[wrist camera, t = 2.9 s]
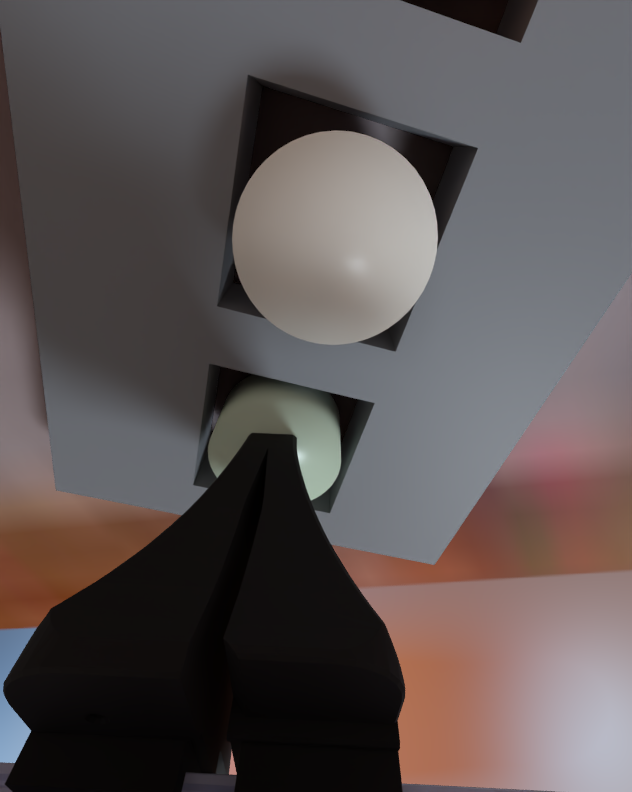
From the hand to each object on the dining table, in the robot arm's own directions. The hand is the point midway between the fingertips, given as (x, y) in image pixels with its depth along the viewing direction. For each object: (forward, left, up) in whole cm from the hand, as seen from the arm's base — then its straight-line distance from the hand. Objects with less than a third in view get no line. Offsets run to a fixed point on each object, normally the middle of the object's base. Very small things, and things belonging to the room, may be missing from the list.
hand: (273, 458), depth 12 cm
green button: (0, 0, -2) cm, 2 cm away
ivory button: (0, -7, -1) cm, 7 cm away
